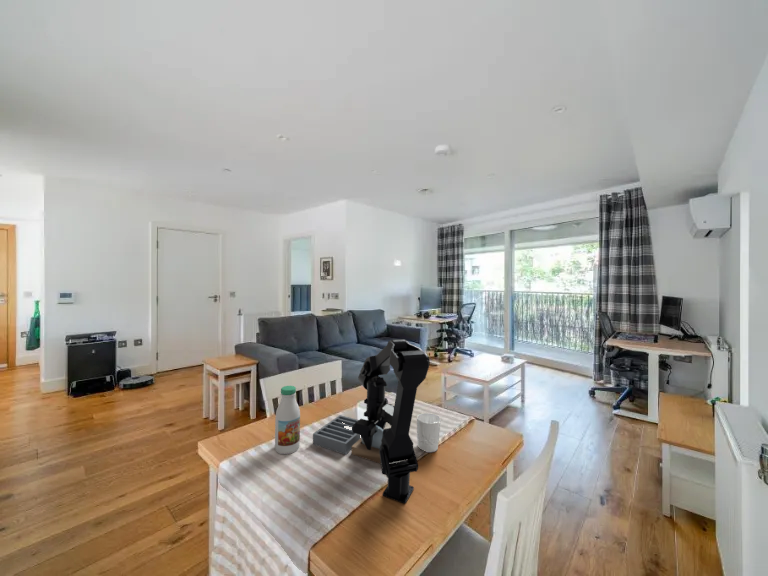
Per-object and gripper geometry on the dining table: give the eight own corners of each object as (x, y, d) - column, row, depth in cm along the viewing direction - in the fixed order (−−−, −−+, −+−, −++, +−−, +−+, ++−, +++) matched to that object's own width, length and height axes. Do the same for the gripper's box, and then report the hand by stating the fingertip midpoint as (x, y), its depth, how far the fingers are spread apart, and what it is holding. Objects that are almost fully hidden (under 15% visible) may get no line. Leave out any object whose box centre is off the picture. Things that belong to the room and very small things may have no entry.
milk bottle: (269, 452, 100) (270, 390, 99) (284, 440, 107) (285, 382, 106) (290, 457, 98) (291, 393, 97) (304, 444, 105) (305, 385, 104)
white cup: (438, 441, 109) (439, 413, 109) (440, 454, 102) (441, 424, 101) (415, 439, 110) (416, 411, 110) (415, 452, 102) (416, 422, 102)
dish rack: (345, 454, 100) (346, 443, 100) (312, 443, 106) (312, 433, 105) (369, 432, 114) (370, 422, 114) (339, 424, 120) (339, 415, 120)
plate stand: (386, 465, 95) (386, 457, 95) (351, 454, 100) (351, 446, 100) (396, 452, 102) (396, 444, 102) (363, 442, 107) (363, 435, 107)
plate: (385, 458, 99) (386, 430, 98) (360, 450, 103) (361, 423, 102) (387, 456, 100) (388, 428, 99) (362, 448, 104) (363, 421, 103)
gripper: (386, 413, 88) (384, 467, 89) (410, 391, 105) (408, 437, 106) (352, 404, 93) (350, 456, 94) (380, 385, 110) (378, 429, 111)
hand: (374, 444), depth 101 cm, fingers open, 7 cm apart
